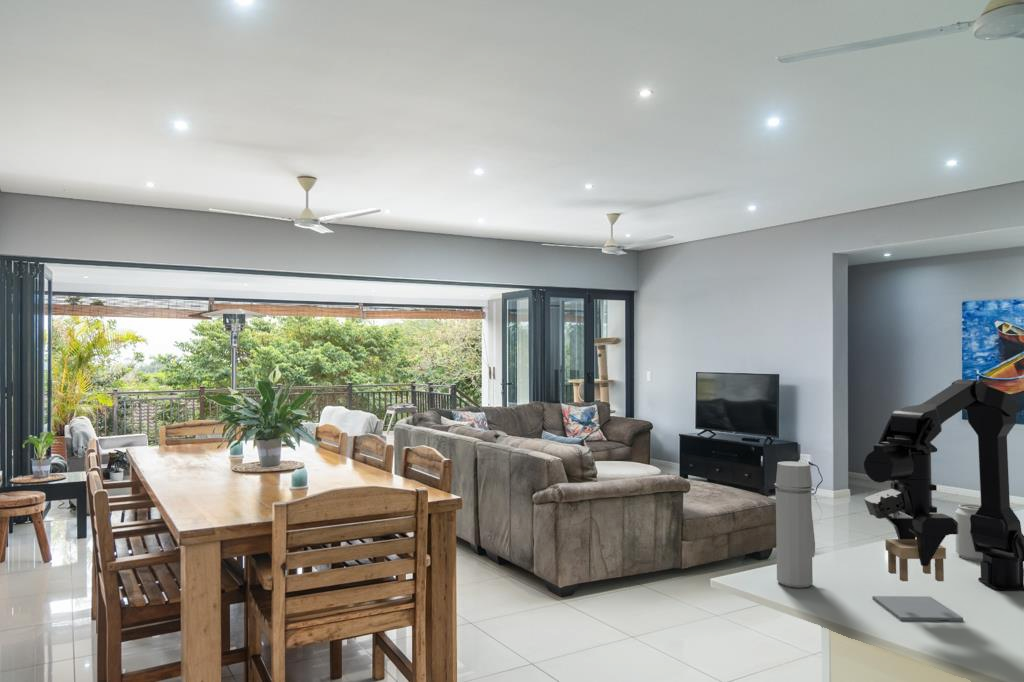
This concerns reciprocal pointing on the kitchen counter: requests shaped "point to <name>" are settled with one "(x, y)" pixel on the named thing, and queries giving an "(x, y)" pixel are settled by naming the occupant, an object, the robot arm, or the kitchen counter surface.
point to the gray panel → (916, 608)
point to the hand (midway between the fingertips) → (915, 560)
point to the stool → (912, 557)
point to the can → (966, 532)
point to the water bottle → (794, 524)
